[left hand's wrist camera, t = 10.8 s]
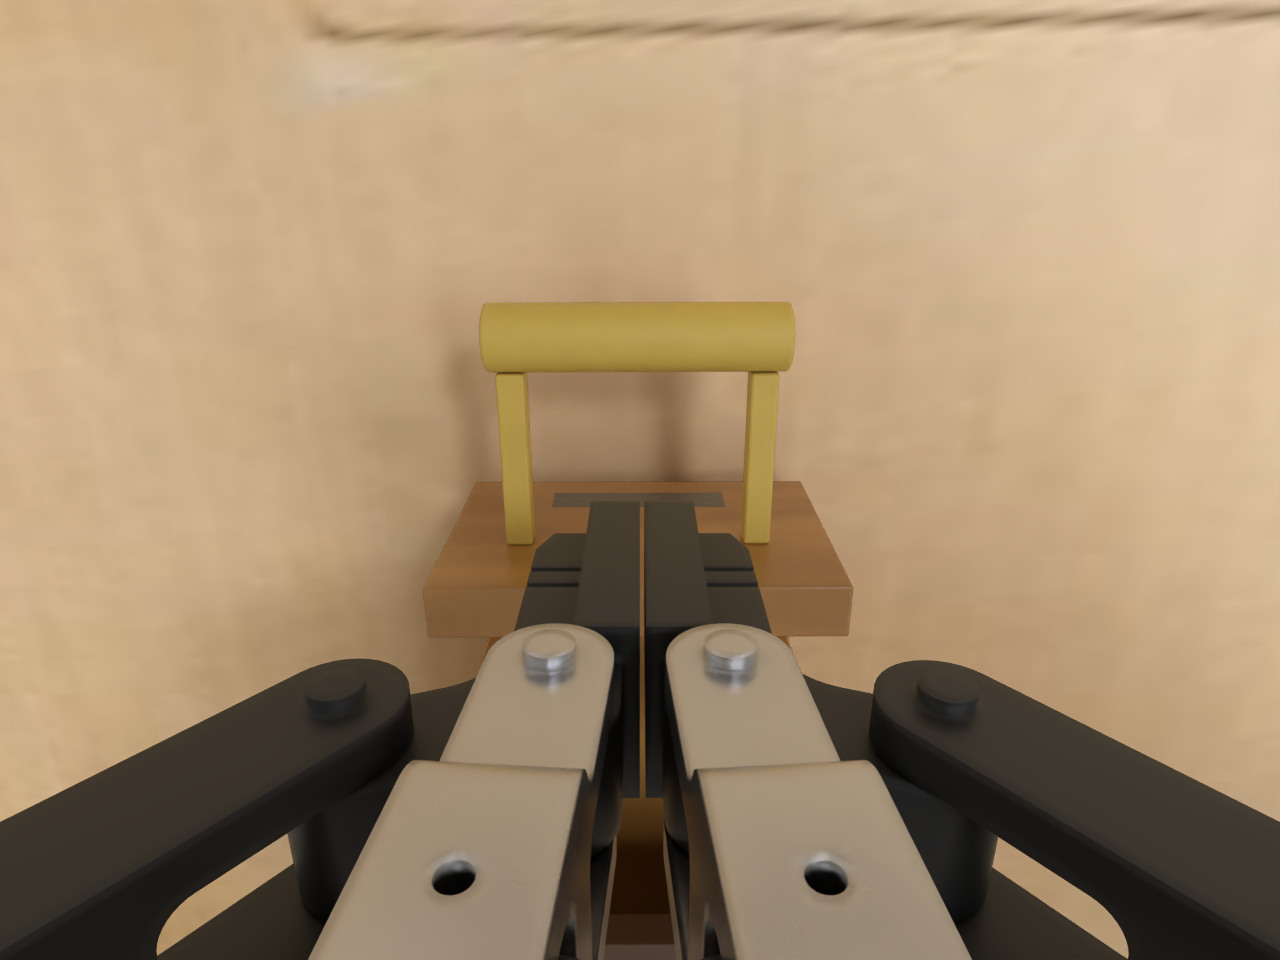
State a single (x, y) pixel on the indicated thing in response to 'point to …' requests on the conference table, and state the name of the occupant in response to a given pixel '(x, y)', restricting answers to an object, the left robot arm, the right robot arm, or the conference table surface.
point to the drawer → (636, 499)
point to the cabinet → (639, 937)
